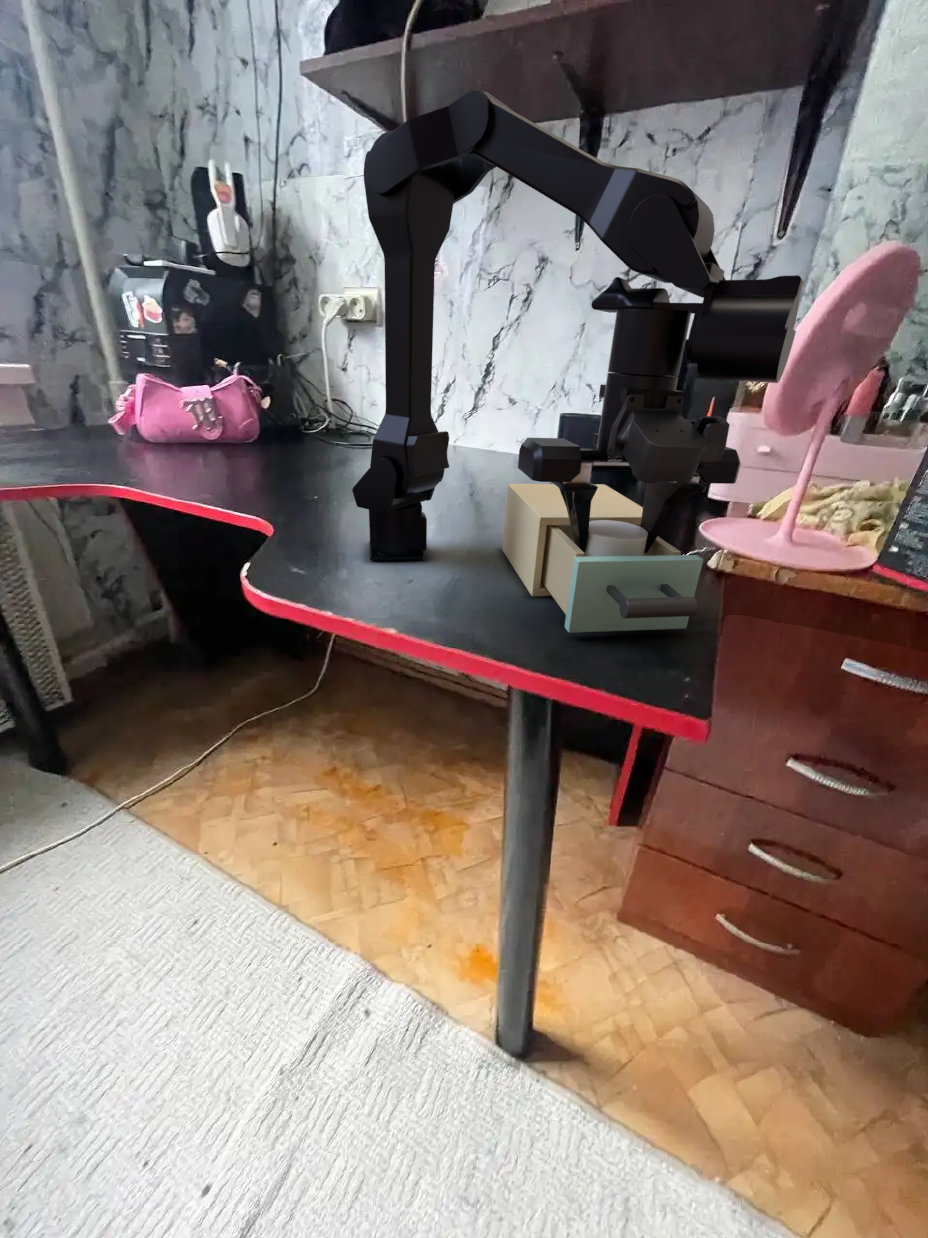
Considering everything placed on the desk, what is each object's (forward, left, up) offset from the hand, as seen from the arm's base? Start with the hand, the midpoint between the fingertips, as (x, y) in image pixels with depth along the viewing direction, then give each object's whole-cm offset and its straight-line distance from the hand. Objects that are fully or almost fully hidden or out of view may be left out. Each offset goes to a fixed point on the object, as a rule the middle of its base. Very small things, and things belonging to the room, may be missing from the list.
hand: (611, 552), depth 52 cm
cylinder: (0, 0, -1) cm, 1 cm away
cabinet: (0, +11, -6) cm, 13 cm away
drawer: (0, -2, -5) cm, 6 cm away
